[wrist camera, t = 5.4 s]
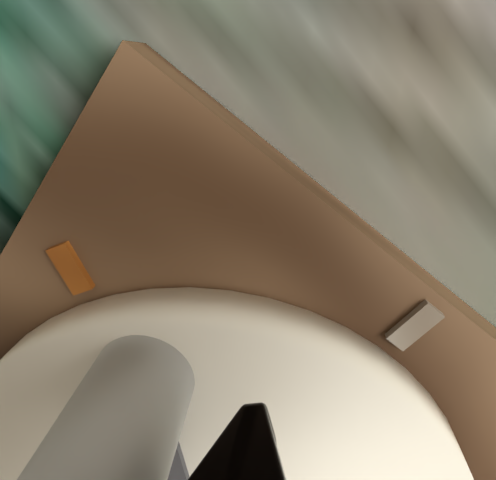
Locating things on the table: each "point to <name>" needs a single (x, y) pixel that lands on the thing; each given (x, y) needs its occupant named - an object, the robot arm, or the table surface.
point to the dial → (211, 393)
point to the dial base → (231, 238)
